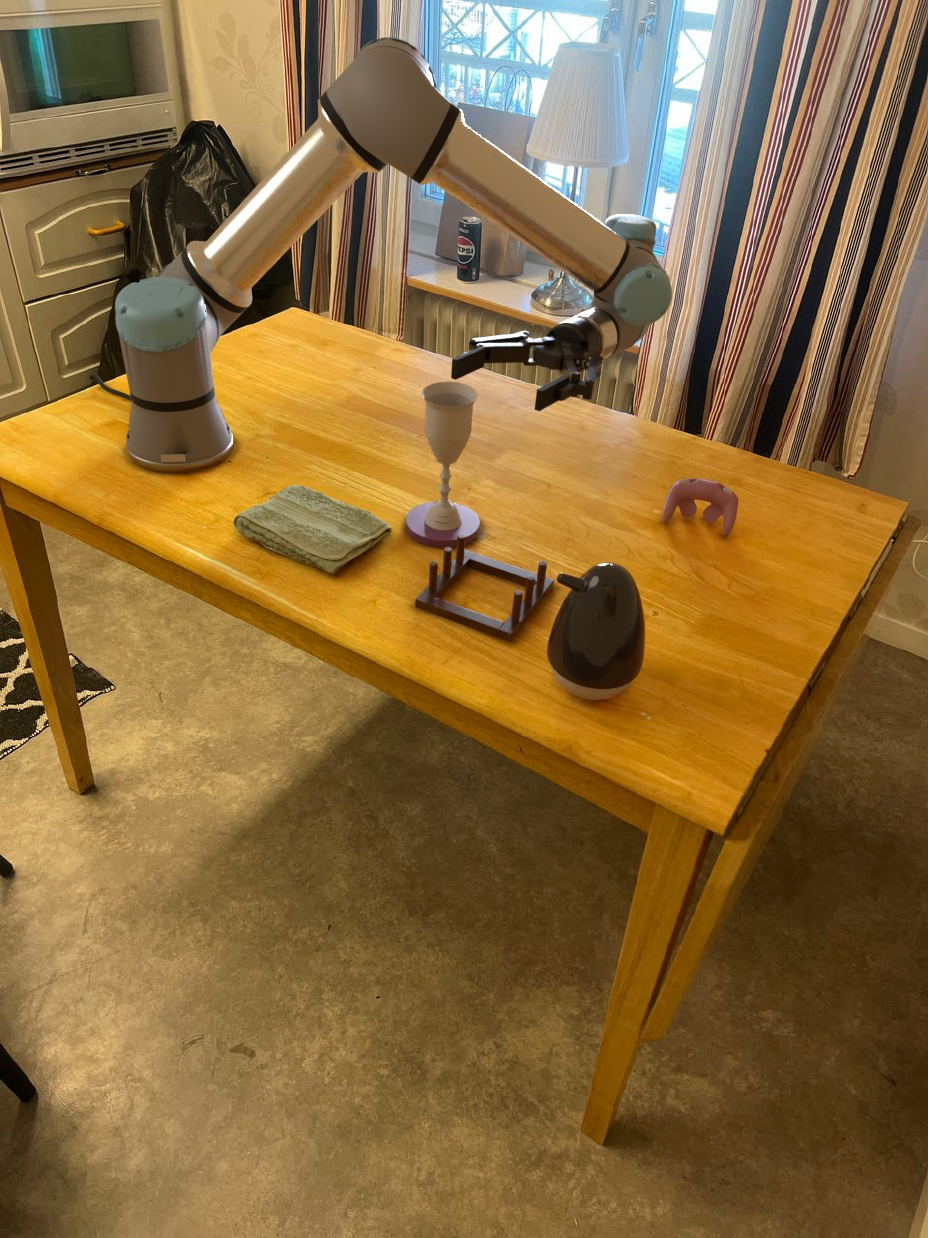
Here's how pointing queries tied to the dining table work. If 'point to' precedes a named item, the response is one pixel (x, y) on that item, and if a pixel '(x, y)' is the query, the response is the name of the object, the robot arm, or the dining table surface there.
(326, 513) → the washcloth
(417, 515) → the lid
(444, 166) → the robot arm
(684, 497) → the video game controller
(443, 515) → the chalice
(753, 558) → the dining table surface
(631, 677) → the pump dispenser
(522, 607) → the drying rack
